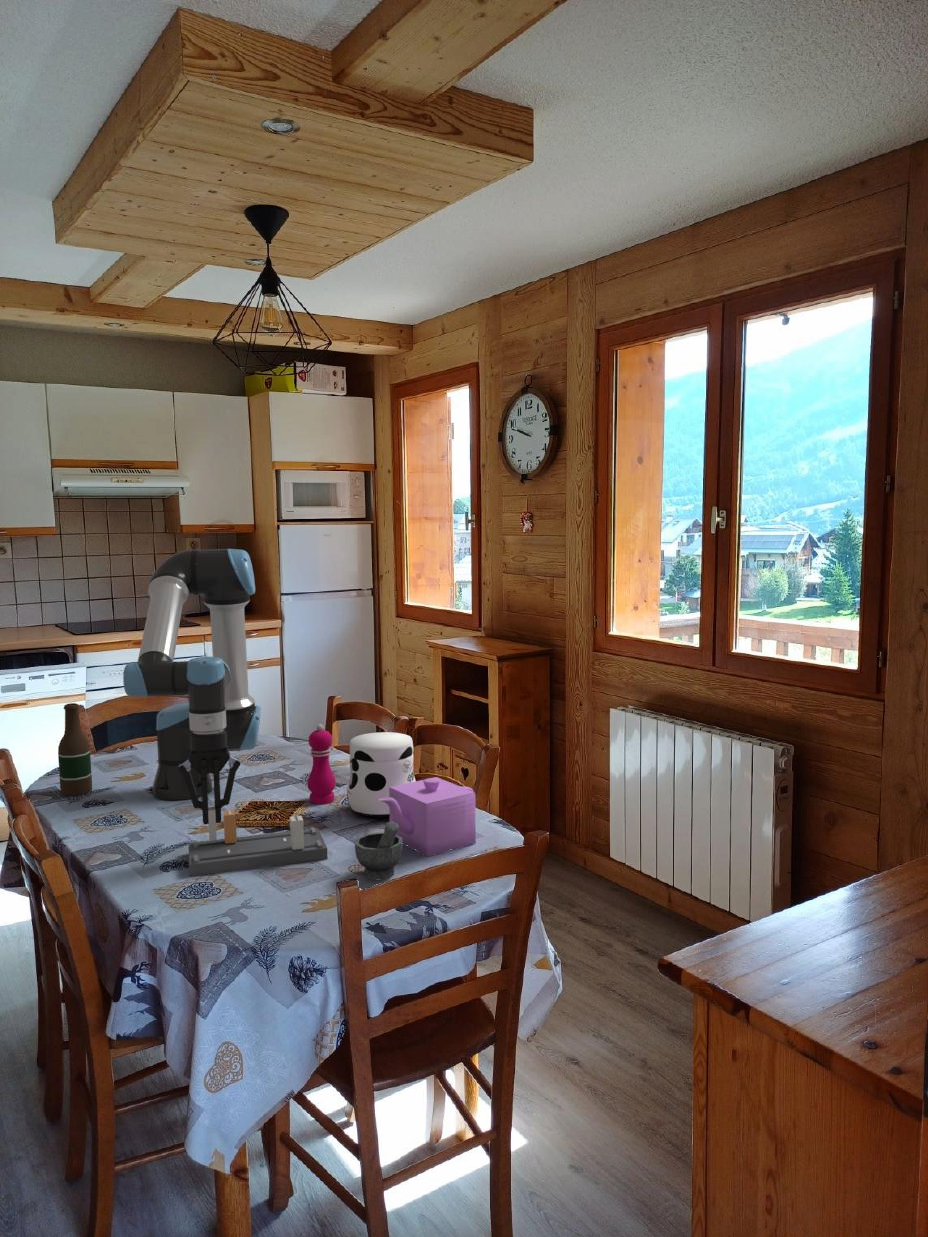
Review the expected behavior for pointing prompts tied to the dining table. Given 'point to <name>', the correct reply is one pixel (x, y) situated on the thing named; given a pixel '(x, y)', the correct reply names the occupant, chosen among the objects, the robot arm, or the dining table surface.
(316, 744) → the pepper mill
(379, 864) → the mortar and pestle
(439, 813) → the teapot
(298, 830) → the block
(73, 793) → the beer bottle
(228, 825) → the orange fader
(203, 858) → the console
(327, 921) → the dining table surface
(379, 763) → the cow-print canister
